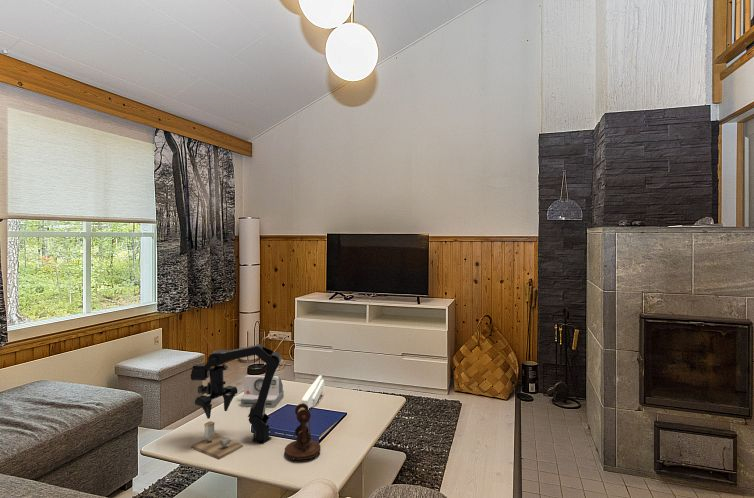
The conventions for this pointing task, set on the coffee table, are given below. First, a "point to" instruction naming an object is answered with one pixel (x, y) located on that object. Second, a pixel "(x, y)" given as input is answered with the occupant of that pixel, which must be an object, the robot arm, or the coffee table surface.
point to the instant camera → (254, 386)
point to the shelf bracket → (314, 392)
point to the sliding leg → (209, 430)
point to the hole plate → (217, 446)
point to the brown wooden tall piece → (302, 437)
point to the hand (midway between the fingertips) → (217, 414)
